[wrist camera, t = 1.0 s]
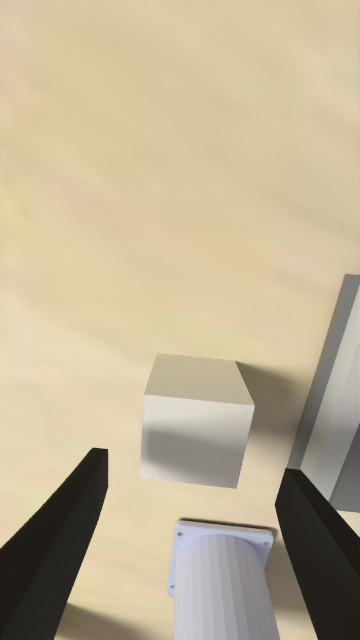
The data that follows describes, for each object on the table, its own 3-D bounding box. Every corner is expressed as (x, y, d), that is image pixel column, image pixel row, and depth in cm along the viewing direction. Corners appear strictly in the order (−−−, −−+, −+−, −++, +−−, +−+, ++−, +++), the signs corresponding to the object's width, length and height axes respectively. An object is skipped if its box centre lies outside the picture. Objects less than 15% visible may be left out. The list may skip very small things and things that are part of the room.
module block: (222, 423, 15) (236, 488, 11) (153, 416, 16) (139, 478, 11) (234, 360, 14) (255, 405, 10) (157, 352, 14) (143, 394, 10)
